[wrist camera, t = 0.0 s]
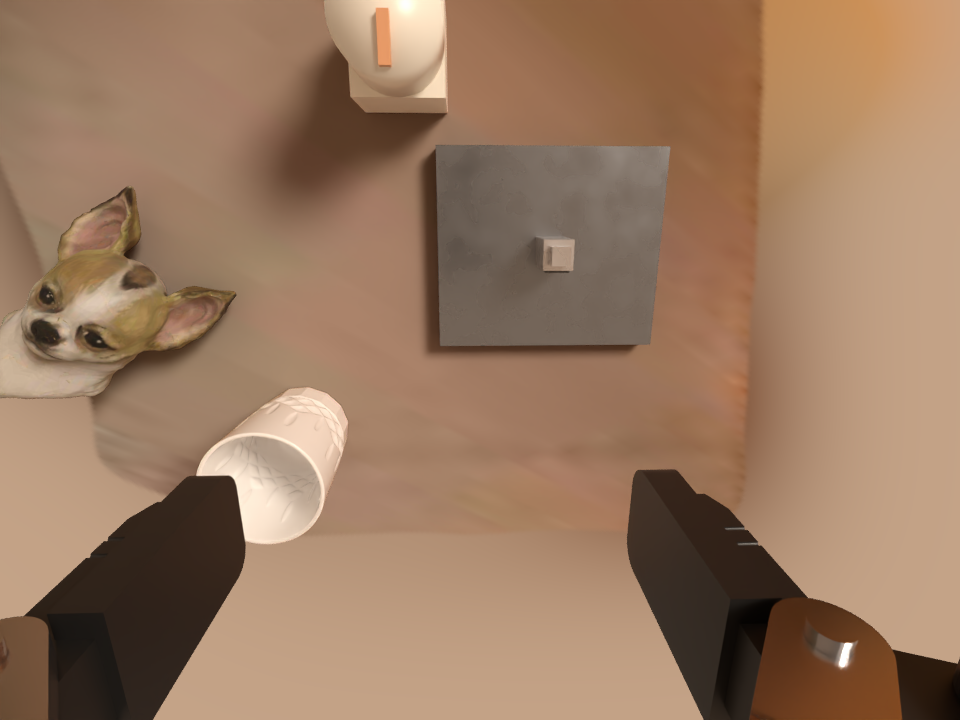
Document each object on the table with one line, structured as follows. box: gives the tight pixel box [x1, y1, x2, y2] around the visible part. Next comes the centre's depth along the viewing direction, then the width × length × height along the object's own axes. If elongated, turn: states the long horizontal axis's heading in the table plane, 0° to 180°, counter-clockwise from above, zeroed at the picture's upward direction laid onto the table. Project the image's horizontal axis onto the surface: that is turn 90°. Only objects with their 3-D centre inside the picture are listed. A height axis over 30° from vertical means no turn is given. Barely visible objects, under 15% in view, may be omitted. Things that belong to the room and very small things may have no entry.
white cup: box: [196, 387, 348, 544], centre depth 36 cm, size 8×8×10 cm
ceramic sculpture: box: [0, 186, 236, 399], centre depth 34 cm, size 11×9×15 cm
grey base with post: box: [436, 145, 670, 346], centre depth 35 cm, size 14×16×6 cm
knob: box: [324, 0, 448, 113], centre depth 29 cm, size 6×6×10 cm
